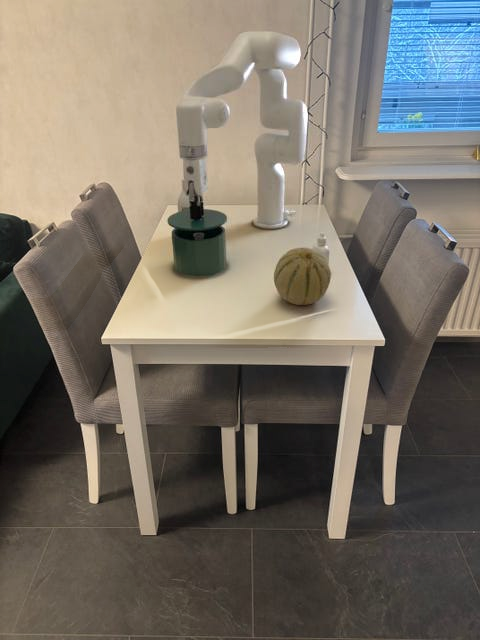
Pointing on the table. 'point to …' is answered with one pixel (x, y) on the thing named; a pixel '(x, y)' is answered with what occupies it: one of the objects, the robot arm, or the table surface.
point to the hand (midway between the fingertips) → (197, 216)
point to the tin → (199, 252)
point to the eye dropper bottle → (322, 247)
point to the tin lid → (197, 220)
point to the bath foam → (183, 200)
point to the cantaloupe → (302, 276)
